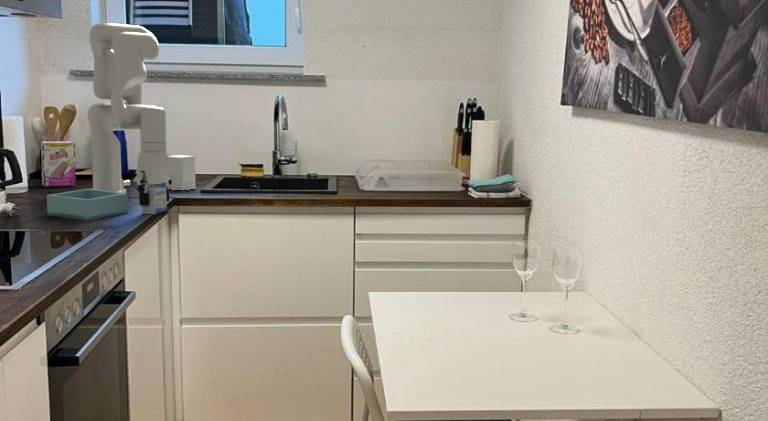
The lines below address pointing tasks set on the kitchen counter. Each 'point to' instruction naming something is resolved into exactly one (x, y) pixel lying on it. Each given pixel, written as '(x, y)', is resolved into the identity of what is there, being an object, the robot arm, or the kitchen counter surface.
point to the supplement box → (182, 172)
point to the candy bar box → (58, 163)
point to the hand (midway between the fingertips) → (154, 203)
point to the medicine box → (156, 199)
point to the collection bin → (87, 204)
